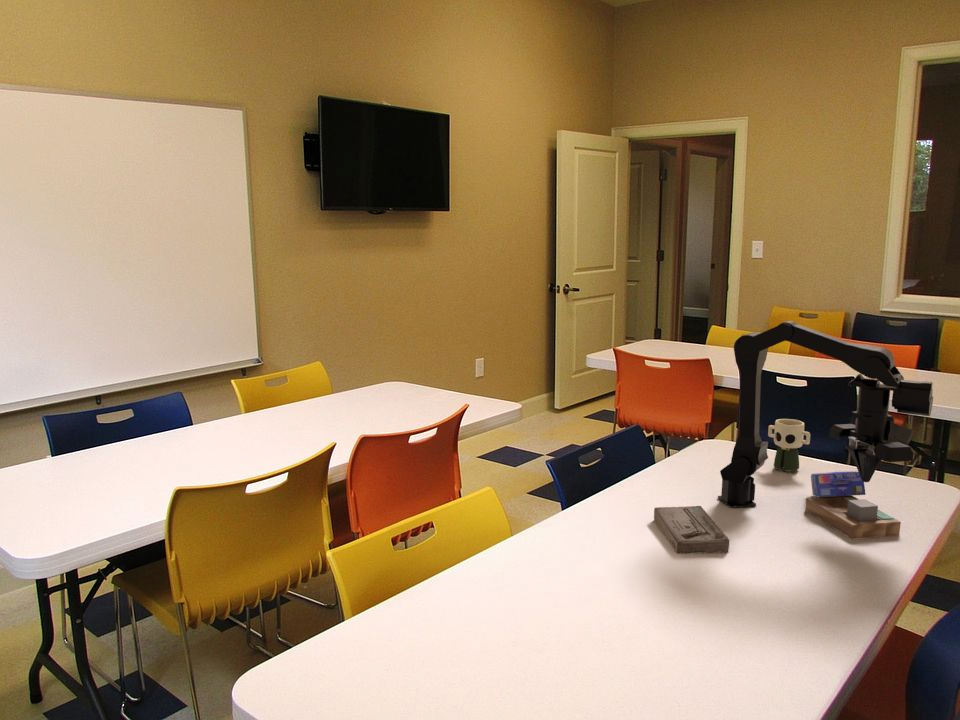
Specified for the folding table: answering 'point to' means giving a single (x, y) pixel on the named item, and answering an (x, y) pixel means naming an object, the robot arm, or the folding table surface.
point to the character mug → (788, 442)
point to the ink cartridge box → (837, 484)
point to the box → (690, 530)
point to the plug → (862, 510)
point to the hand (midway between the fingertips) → (865, 481)
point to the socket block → (836, 516)
